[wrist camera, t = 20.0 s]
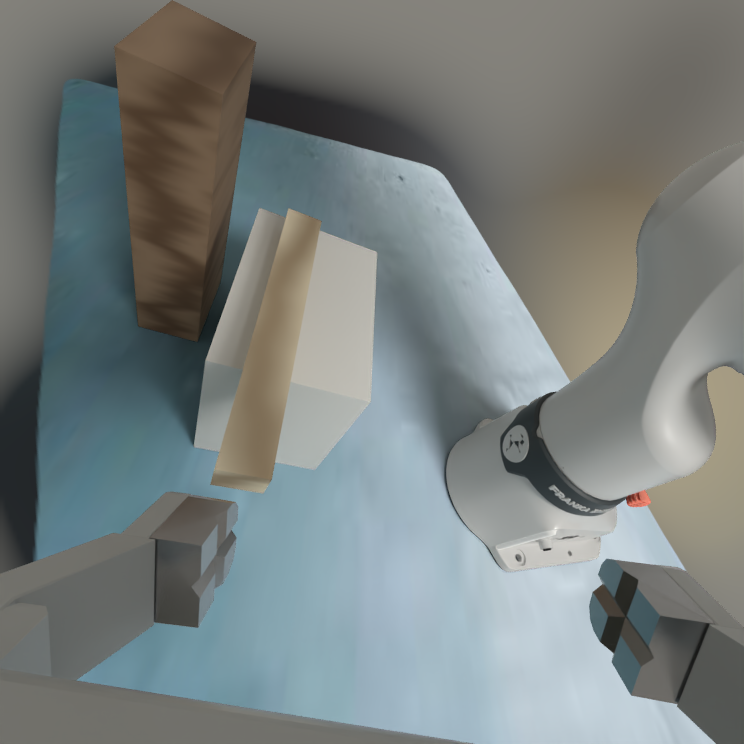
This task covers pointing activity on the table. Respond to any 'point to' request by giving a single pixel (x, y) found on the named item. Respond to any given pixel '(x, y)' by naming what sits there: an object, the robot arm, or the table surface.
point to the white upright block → (314, 350)
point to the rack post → (180, 159)
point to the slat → (269, 363)
